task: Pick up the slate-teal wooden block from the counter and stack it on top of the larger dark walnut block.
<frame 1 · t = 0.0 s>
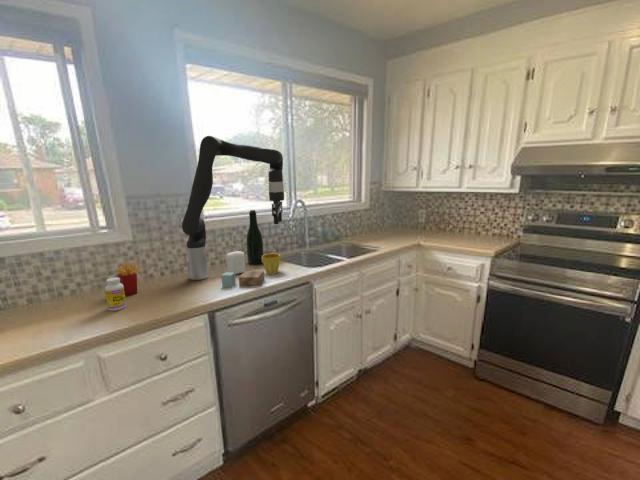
hand: (278, 222, 166), 29 cm above the worktop, tool pointing down, fingers open, 8 cm apart
plant pot: (272, 272, 181), on the worktop
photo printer: (236, 273, 181), on the worktop
walnut block: (252, 283, 164), on the worktop
french fries: (131, 293, 155), on the worktop
teal block: (229, 285, 162), on the worktop
beer bottle: (256, 262, 202), on the worktop
supplement bottle: (117, 308, 137), on the worktop
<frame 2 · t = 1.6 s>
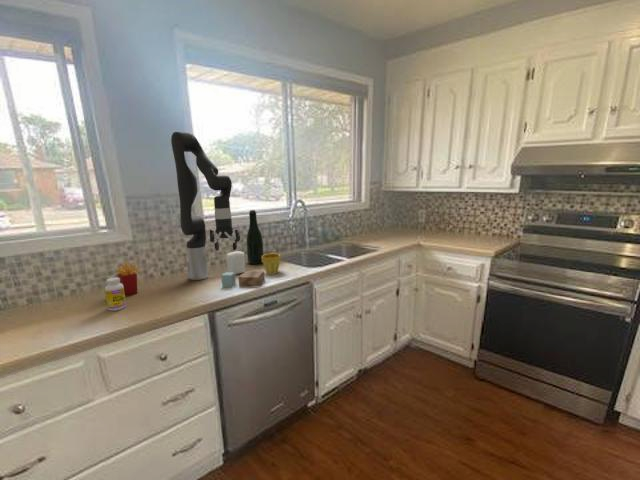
hand: (226, 250, 158), 18 cm above the worktop, tool pointing down, fingers open, 8 cm apart
nothing on the worktop moved.
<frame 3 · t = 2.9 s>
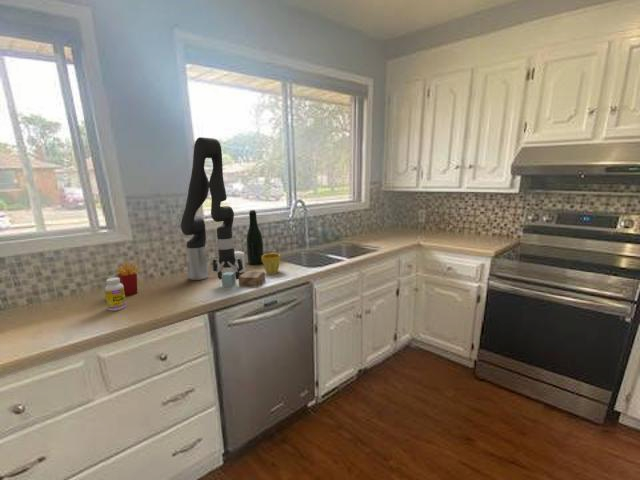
hand: (229, 278, 161), 3 cm above the worktop, tool pointing down, fingers open, 8 cm apart
walnut block: (252, 283, 164), on the worktop, touching gripper
everything else where it was.
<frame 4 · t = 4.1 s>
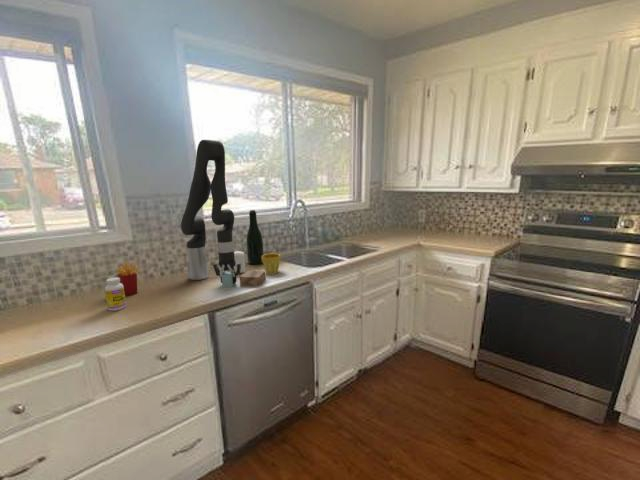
hand: (229, 283, 161), 1 cm above the worktop, tool pointing down, fingers closed on teal block, 5 cm apart
walnut block: (253, 283, 164), on the worktop
teal block: (229, 285, 162), on the worktop, touching gripper
everything else where it was.
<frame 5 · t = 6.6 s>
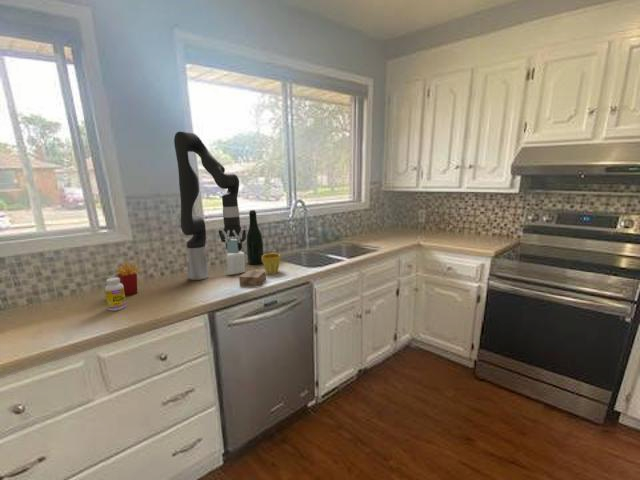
hand: (234, 250, 158), 18 cm above the worktop, tool pointing down, fingers closed on teal block, 5 cm apart
teal block: (234, 252, 159), point 17 cm above the worktop, touching gripper
everything else where it was.
when the fingers open (7 cm above the worktop, at t = 9.0 s): teal block drops 1 cm, point 5 cm above the worktop.
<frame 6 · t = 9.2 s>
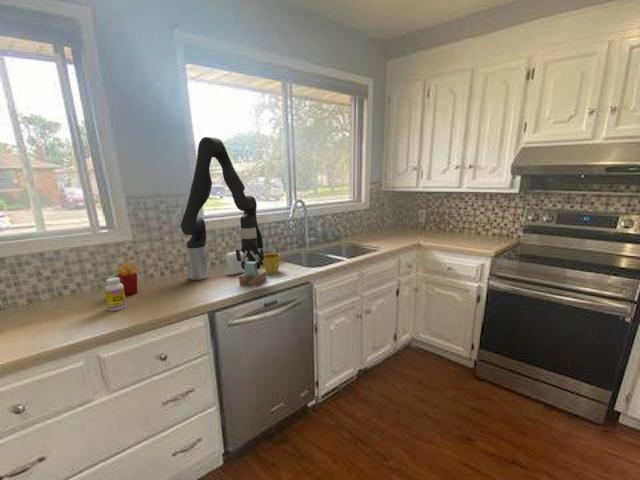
hand: (251, 268, 162), 7 cm above the worktop, tool pointing down, fingers open, 6 cm apart
teal block: (251, 274, 163), point 5 cm above the worktop
everything else where it was.
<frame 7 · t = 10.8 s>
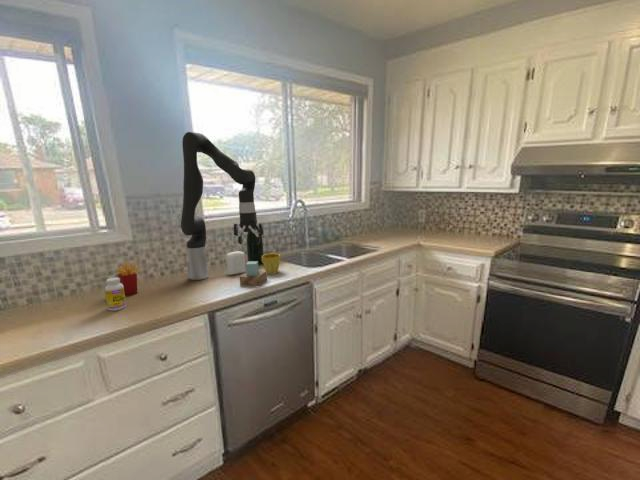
hand: (249, 244, 160), 20 cm above the worktop, tool pointing down, fingers open, 8 cm apart
nothing on the worktop moved.
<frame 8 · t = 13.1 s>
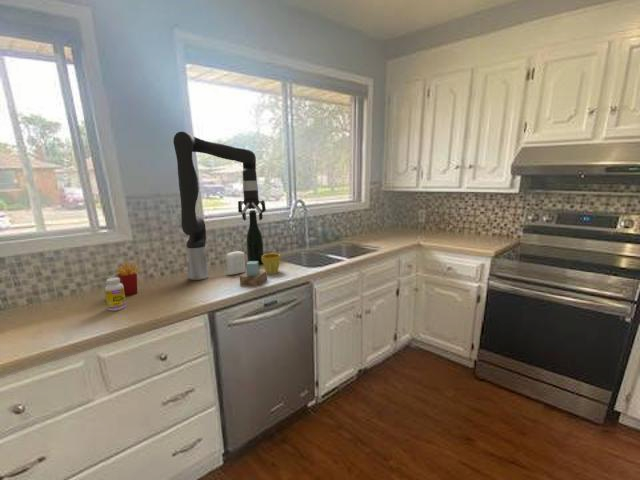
hand: (252, 220, 172), 30 cm above the worktop, tool pointing down, fingers open, 8 cm apart
nothing on the worktop moved.
at the end: teal block inside the target area on the walnut block (0.3 cm from its centre), point 5.0 cm above the walnut block's base; teal block tilted 0°; the gripper is holding nothing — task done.
